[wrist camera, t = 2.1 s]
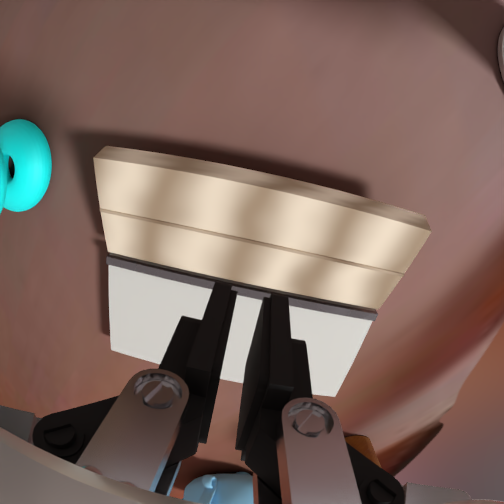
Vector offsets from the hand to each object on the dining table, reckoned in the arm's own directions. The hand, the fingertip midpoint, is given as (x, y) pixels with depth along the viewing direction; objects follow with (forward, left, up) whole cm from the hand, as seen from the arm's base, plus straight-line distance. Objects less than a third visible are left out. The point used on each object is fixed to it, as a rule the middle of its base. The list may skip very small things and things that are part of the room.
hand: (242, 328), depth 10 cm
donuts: (+26, +1, -19) cm, 32 cm away
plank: (0, +2, -17) cm, 17 cm away
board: (0, +14, -19) cm, 23 cm away
